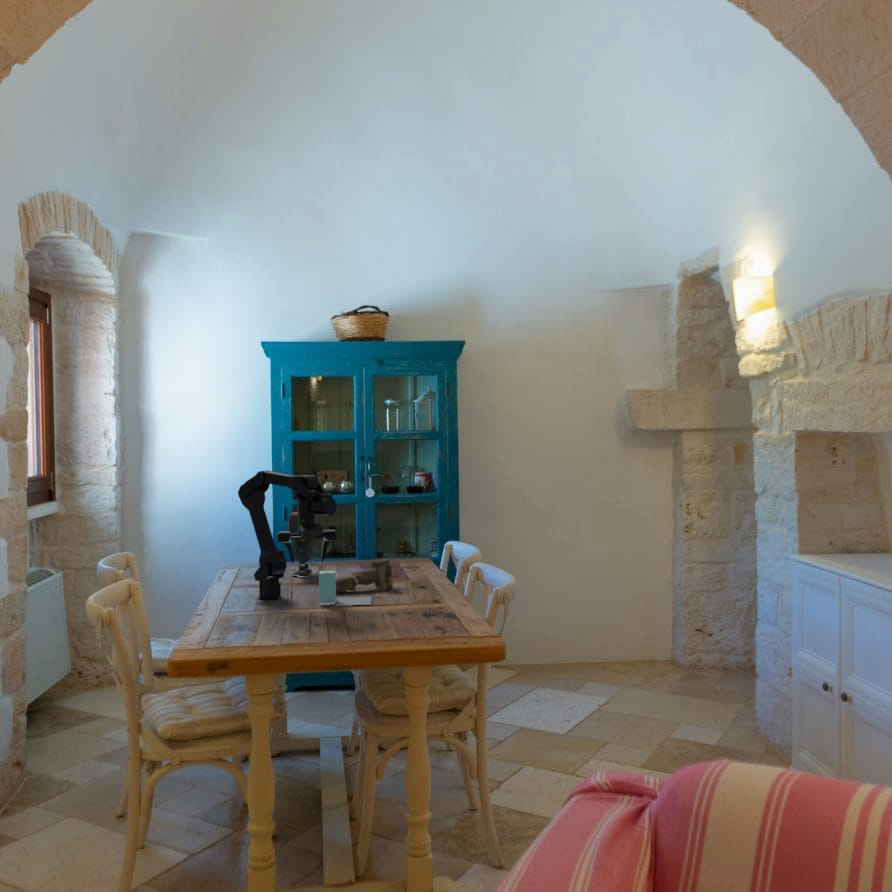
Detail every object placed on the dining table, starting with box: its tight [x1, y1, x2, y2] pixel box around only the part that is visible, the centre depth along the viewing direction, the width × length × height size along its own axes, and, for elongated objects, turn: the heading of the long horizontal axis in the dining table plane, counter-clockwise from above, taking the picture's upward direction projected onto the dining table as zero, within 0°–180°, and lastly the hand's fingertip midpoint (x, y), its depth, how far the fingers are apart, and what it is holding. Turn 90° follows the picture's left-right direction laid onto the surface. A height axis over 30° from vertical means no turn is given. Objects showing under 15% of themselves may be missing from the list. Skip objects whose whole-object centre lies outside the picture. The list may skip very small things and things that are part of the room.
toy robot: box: [287, 500, 314, 576], centre depth 322 cm, size 22×9×30 cm, turn 178°
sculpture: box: [336, 558, 394, 594], centre depth 289 cm, size 8×22×15 cm
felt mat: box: [335, 596, 373, 607], centre depth 269 cm, size 11×12×1 cm
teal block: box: [318, 570, 337, 606], centre depth 268 cm, size 5×5×10 cm
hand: (307, 562), depth 270 cm, fingers open, 9 cm apart
